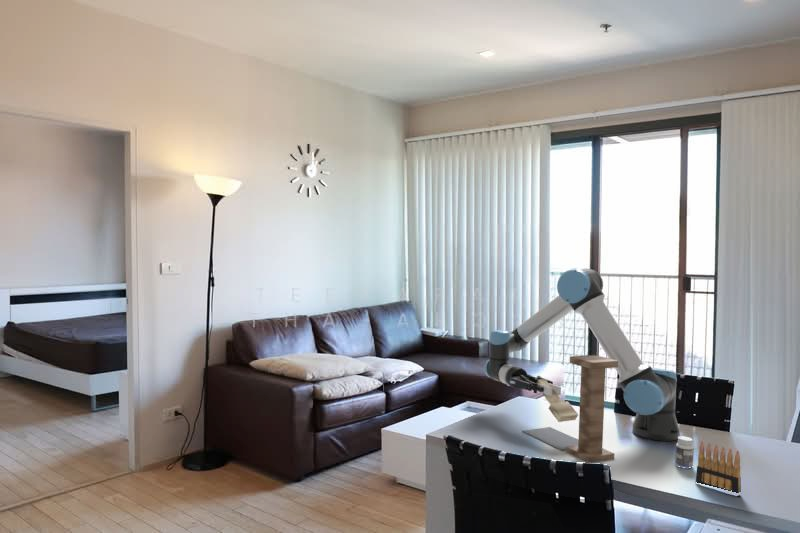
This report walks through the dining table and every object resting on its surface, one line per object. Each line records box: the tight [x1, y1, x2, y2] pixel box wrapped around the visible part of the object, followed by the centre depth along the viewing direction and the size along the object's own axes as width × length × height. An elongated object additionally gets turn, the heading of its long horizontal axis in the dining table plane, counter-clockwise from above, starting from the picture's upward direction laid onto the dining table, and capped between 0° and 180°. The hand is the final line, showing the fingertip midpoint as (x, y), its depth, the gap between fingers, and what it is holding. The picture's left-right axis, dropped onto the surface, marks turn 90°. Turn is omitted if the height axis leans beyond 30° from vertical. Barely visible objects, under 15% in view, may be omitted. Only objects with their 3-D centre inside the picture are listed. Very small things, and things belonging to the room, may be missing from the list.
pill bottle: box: [674, 435, 695, 469], centre depth 169 cm, size 5×5×8 cm
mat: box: [521, 426, 579, 452], centre depth 191 cm, size 20×12×1 cm, turn 25°
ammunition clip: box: [695, 441, 742, 493], centre depth 152 cm, size 11×2×12 cm, turn 41°
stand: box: [565, 354, 618, 463], centre depth 176 cm, size 10×10×30 cm
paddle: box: [537, 378, 579, 423], centre depth 192 cm, size 17×7×2 cm
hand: (555, 391), depth 191 cm, fingers closed on paddle, 3 cm apart
